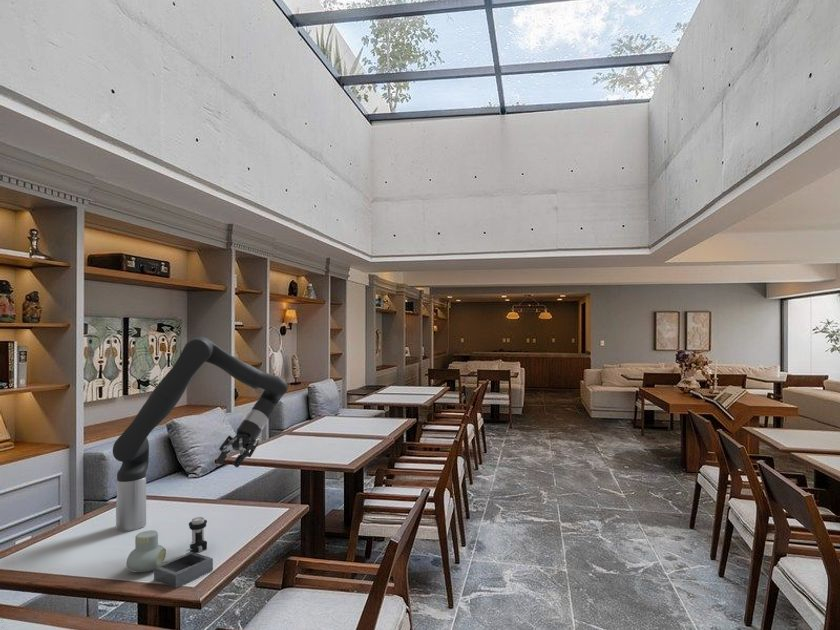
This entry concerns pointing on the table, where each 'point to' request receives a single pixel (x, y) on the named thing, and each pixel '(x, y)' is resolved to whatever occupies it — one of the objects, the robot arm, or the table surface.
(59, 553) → the table surface
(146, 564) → the air freshener
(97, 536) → the table surface
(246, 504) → the table surface
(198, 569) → the square socket
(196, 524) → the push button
